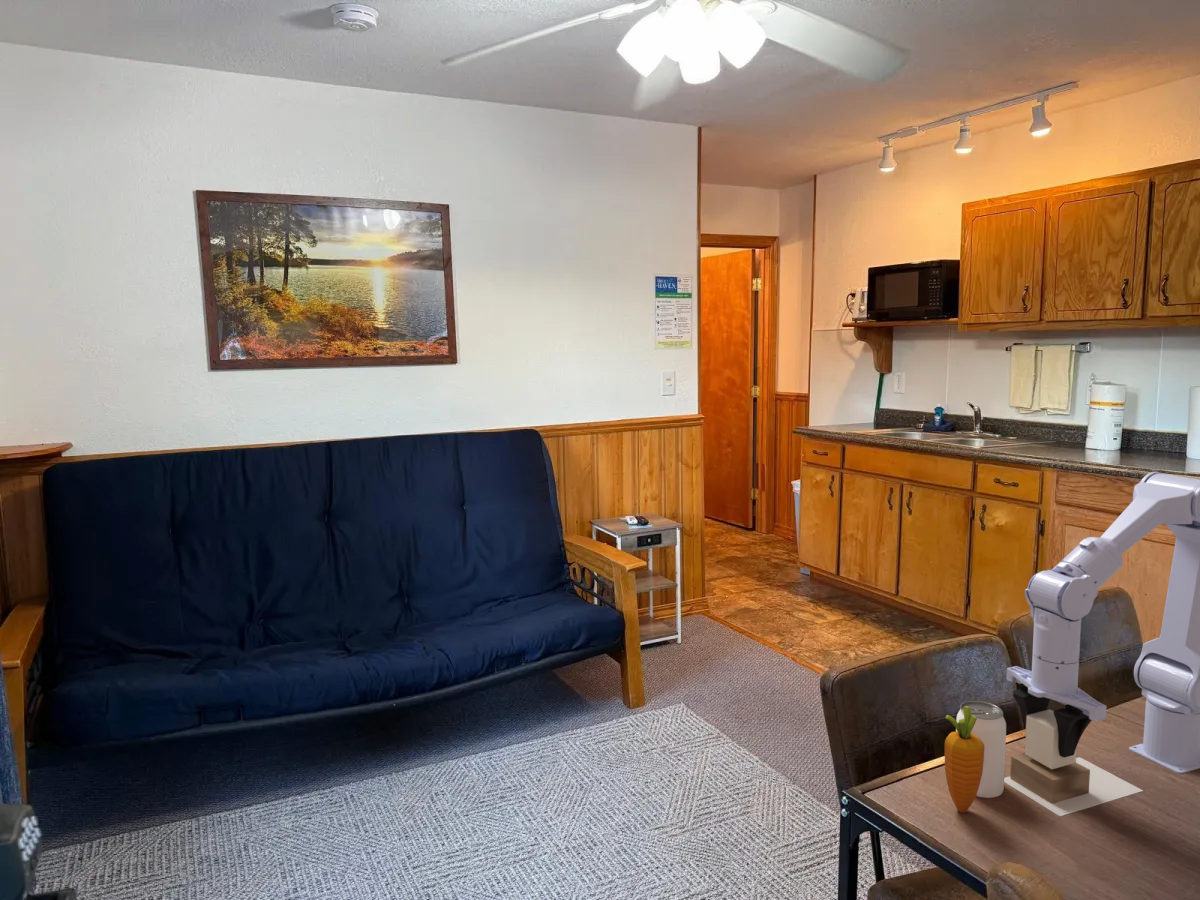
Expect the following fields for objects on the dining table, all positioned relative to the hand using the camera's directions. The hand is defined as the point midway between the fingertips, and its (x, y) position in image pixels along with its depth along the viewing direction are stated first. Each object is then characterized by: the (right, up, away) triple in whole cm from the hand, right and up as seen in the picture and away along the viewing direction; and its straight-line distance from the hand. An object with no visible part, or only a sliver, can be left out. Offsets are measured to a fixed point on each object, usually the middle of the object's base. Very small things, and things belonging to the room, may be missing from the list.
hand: (1050, 746), depth 114 cm
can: (-10, -7, +2) cm, 12 cm away
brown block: (0, -6, +1) cm, 6 cm away
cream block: (0, -2, 0) cm, 2 cm away
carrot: (-15, -8, -5) cm, 17 cm away
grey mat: (+3, -6, +1) cm, 7 cm away
